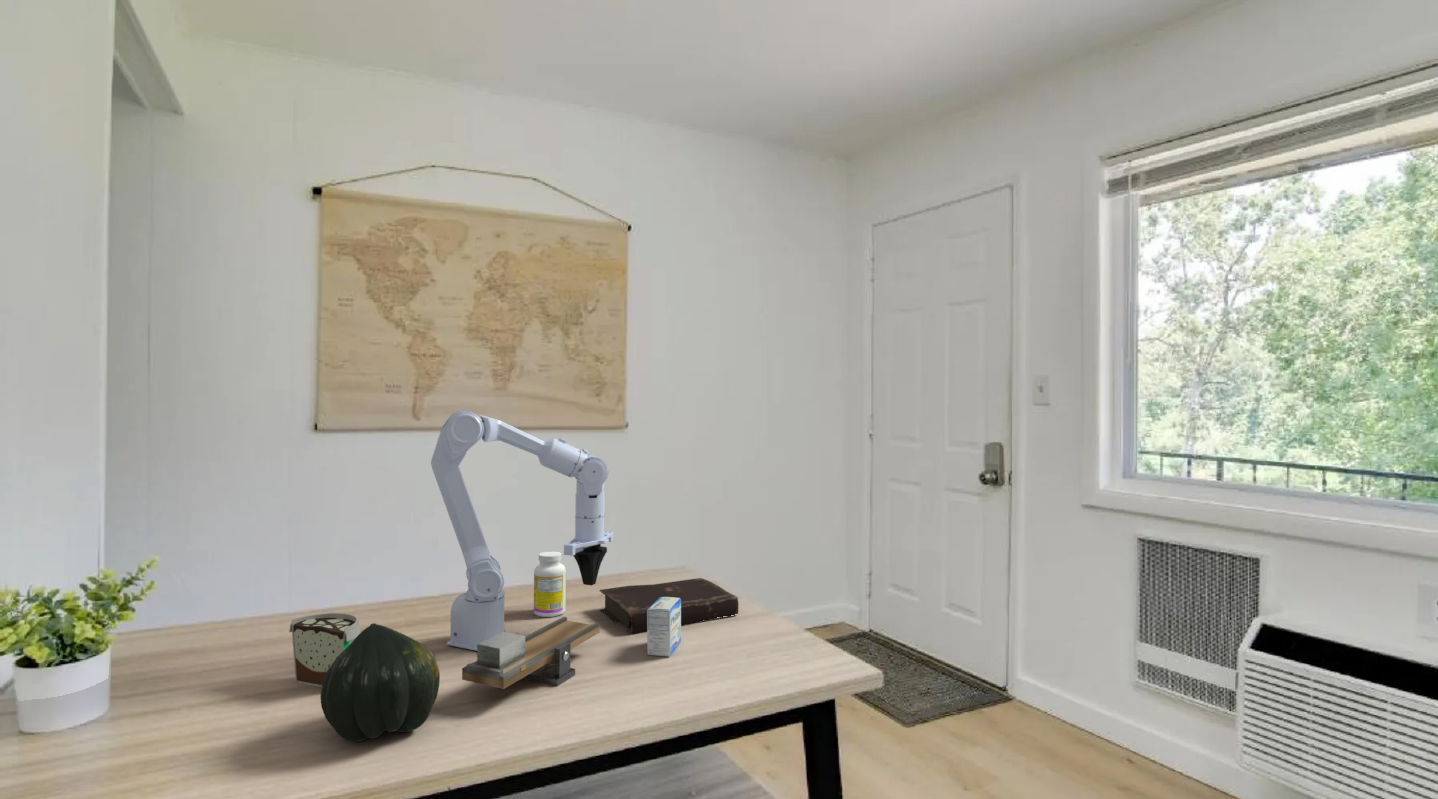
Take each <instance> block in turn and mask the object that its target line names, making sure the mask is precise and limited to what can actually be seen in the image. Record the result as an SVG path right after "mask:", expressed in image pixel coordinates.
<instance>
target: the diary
mask: <svg viewBox="0 0 1438 799" xmlns="http://www.w3.org/2000/svg"><path fill="white" fill-rule="evenodd" d="M599 592H600V593H602V594H603V595H604V608H600V609H599V611H600V613H602V614H603V615H605V616H606V617H608V618H609V619H610V620H612V621H613V622H614V623H616V624H618V623H620V624H622V625H623V626H624V627H625V628H627V629H628V630H627V632H629V631H630V632H629V635H634V634H640V633H645V632H646V633H647V610H648V609H649V608H650V607H651V606H652V605H653V604H654V603H655V602H656V601H657V600H658V599H659V598H660V597H675V598H680V599H681V626H685V624H687V625H691V623H692V624H695V623H696V622H698V623H701V622H700V621H703V620H708V621H710V620H709V619H714V618H717V617H723V616H731V615H735V614H738V615H739V597H738V596H737V595H735V594H732V593H730V592H729V591H727V590H725V589H724V588H722V587H721V586H719V585H717V584H716V583H714V582H712V581H710V580H707V579H706V578H702V577H697V578H691V579H684V580H676V581H669V582H667V581H666V582H661V583H654V584H638V585H633V584H632V585H624V586H618V587H617V586H616V587H611V588H603V589H599ZM714 620H715V619H714ZM703 622H704V621H703ZM696 624H697V623H696Z"/></svg>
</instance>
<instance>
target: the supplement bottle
mask: <svg viewBox="0 0 1438 799" xmlns="http://www.w3.org/2000/svg"><path fill="white" fill-rule="evenodd" d="M561 560H562V553H561V552H559V551H553V550H552V551H543V552H540V553H539V554H538V561H539V564H538V565H537V566H535V568H534V569H533V572H534V573H533V612H534V615H535V616H537V617H542V618H553V617H554V618H555V617H559V616H560V615H562V614H564V613H565V612H566V603H567V602H566V600H567V598H566V594H567V593H566V592H567V590H566V589H567V586H566V584H567V578H566V577H567V572H566V570H567V569H566V567H565V565H564V564H563V563H561Z"/></svg>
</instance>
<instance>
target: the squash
mask: <svg viewBox="0 0 1438 799" xmlns="http://www.w3.org/2000/svg"><path fill="white" fill-rule="evenodd" d="M439 668H440V667H439V666H438V663H437V660H436V658H435V656H434V654H433V653H432V652H431V650H430V649H429V648H428V647H426V645H424V644H422V643H421V642H420V641H418V640H416V639H414V638H412V637H410V636H408V635H406V634H403V633H402V632H399V631H397V630H394V629H392V628H390V627H388V626H384V625H381V624H377V623H375V622H372V623H371V624H370V625H369V626H367V627H365V628H364V629H363V630H362V631H361V632H360V634H359V635H358V636H357V637H356V638H355V639H354V640H353V641H352V642H351V644H350V645H349V646H348V647H347V648H346V649H345V650H344V651H343V652H342V653H341V654H340V655H339V656H338V657H337V658H336V660H335V661H334V662H333V663H332V665H331V666H330V667H329V669H328V670H327V672H326V674H325V676H324V679H323V683H322V687H321V690H320V696H319V698H320V705H321V706H320V707H321V710H322V712H323V715H324V718H325V719H326V721H327V723H328V724H329V725H330V726H331V727H332V728H333V730H334V732H335V733H336V734H337V735H338V737H340V738H342V739H343V740H345V741H348V742H353V743H354V742H362V741H365V740H368V739H369V738H371V739H375V738H378V737H380V736H381V735H382V734H383V733H384V732H385V731H386V732H388V733H390V732H396V731H398V732H401V733H409V732H412V731H415V730H417V729H419V728H420V727H422V725H423V724H424V723H426V722H427V719H428V718H429V716H430V714H431V712H432V709H433V706H434V705H435V703H436V700H437V697H438V695H439V694H438V693H439V688H440V678H441V677H440V669H439Z"/></svg>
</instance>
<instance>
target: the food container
mask: <svg viewBox="0 0 1438 799" xmlns="http://www.w3.org/2000/svg"><path fill="white" fill-rule="evenodd" d="M288 630H289V633H292V634H291V635H292V647H293V648H292V650H293V663H294V674H295V677H294V678H295V682H296V683H299V682H301V683H300V684H305V685H309V684H310V686H316V687H320V688H322V683H323V679H324V676H325V674H326V672H327V670H328V669H329V667H330V666H331V665H332V663H333V662H334V661H335V660H336V658H337V657H338V656H339V655H340V654H341V653H342V652H343V651H344V650H345V649H346V648H347V647H348V646H349V645H350V644H351V642H352V641H353V640H354V639H355V638H356V637H357V636H358V635H359V634H360V633H361V632H362V631H361V627H360V624H359V621H358V619H357V617H356V615H353V614H349V613H341V612H340V613H338V612H337V613H336V612H334V613H333V612H332V613H320V614H312V615H306V616H301V617H298V618H294V619H292V620H291V623H290V624H289V629H288Z"/></svg>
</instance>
